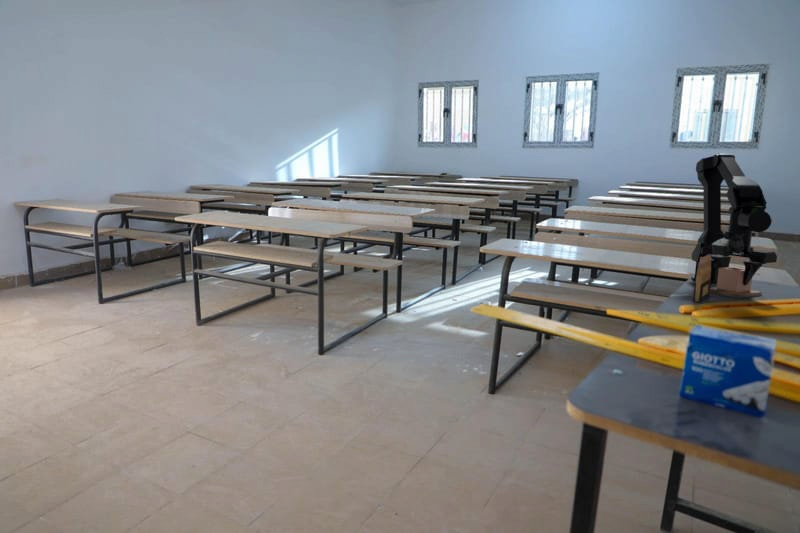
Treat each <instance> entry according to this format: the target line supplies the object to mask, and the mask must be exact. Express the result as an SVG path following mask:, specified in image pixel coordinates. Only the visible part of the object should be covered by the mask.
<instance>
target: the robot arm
mask: <svg viewBox="0 0 800 533" xmlns="http://www.w3.org/2000/svg"><path fill="white" fill-rule="evenodd" d="M695 171H696V174H697V181H699V183H700V184H701V185H702V187H703V231H702V233H701V235H700V236H699V238H698V239H697V244H696V246H695V247H694V248H693V251H692V253H691V260H692V261H693V262H695V271H694V277H691V278H690V279H691V280H693V279H694V280H693V281H696V276H697V271H698V266H699V262H700V259H701V258H703V257H704V256H706V255H709V254H710V255H711V277H710V279H711V283H717V280H718V271H719V268H722V267H730V262H731V259H732V256H733V257H738V258H739V257H740V258H747V259H748V261H743V265H744V269H745V273H744V280H743V284H744V285H747V284H748V283H749V282H750V280H751V279H752V280H753V278H754V276H755V274H756V273H757V272H758V270H759V269H760V268H761V267H762V266H763V265H767V264H771V263H772V264H773V263H777V259H778V255H777V253H776V252H775V251H771V250H763V249H762V250H754V246H751V244H752V243H751V242H752V237H756V236H755V235H756V233H763V232H765V231H767V230H768V229H769V228H770V227H771V225H772V221H773V220H772V217H771V215H770V214H769V213H768V212H767V211H766V210H767V203H768V202H767V200H766V197H765V195H764V192H763V189H762V188H761V186H760V184H759V183H758V182H756V180H753V179H750V178H748V177H747V176H746V175H745V174H744V172H743V169H741V167H740V165H739V163H737V161H736V156H735V154H732V153H717V154H714V155H712V156H709V157H701V159H700V160H699V161H698V162H696V165H695ZM723 181H724V182H725V183H726V185H727V188H728V190H727V191H726V196H727V200H728V202H729V203H730V207H729V208H728V211H729V212H730V215H729V224H728V231H725V232H724V231H722V209H721V208H722V201H721V200H722V199H721V198H722V197H721V196H722V195H721V194H722V190H721V189H722V188H721V187H722V183H723Z"/></svg>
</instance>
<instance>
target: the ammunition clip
mask: <svg viewBox="0 0 800 533" xmlns="http://www.w3.org/2000/svg"><path fill="white" fill-rule="evenodd" d="M700 258H701V257H700ZM711 259H712V258H711V255H710V254H709V255H706V256H704V257H703V258H701V259H700V262H699V266H698V271H697V276H696V280H695V283H694V286H693V287H694V288H693V296H692V302H693V303H700V304H701V303H702V302H703V301H705V300H706V299H707V298H710V293H711V292H710V287H711V284H712V282H711V279H710V277H711Z"/></svg>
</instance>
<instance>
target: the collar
mask: <svg viewBox="0 0 800 533" xmlns="http://www.w3.org/2000/svg"><path fill="white" fill-rule="evenodd" d="M744 273H745V267H744V268H743V267H737V266H729V267H722V268H719V271H718V280H717V282H716V287H717V288H718V289H723V290H728V291H732V292H744V291H750V290H752V280H753V278H752V279H751V280H750V282H749V283H748V284H747V285H744V284H743V280H744Z"/></svg>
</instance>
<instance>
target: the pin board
mask: <svg viewBox="0 0 800 533" xmlns="http://www.w3.org/2000/svg"><path fill="white" fill-rule="evenodd" d="M710 293H713V294H717V295H721V296H725V297H731V298H736V299H742V298H743V299H744V298H752V297H759V296H762V295H763V294H762V293H763V292H762V291H759V290H753V289H751V290H750V291H744V292H732V291H728V290H723V289H718V288H717V286H710Z"/></svg>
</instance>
